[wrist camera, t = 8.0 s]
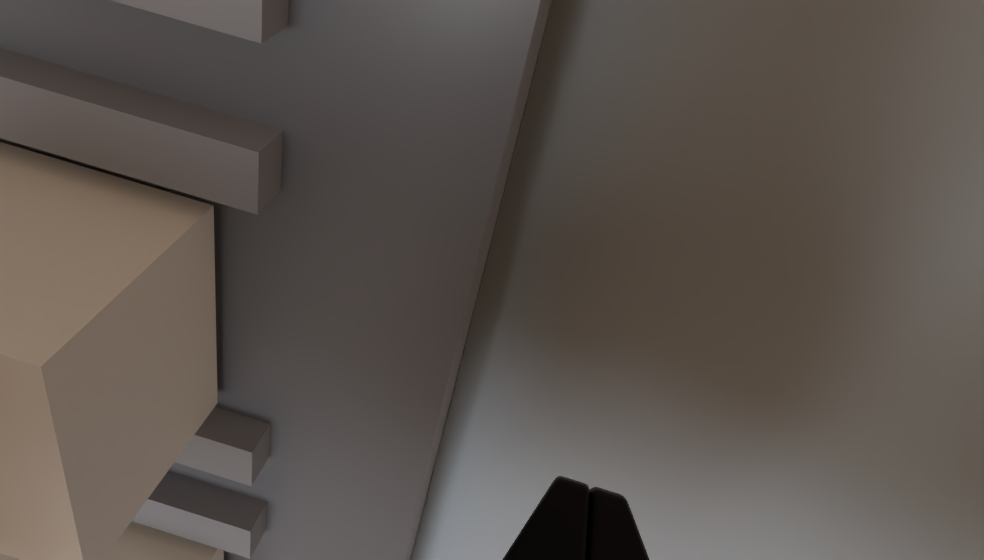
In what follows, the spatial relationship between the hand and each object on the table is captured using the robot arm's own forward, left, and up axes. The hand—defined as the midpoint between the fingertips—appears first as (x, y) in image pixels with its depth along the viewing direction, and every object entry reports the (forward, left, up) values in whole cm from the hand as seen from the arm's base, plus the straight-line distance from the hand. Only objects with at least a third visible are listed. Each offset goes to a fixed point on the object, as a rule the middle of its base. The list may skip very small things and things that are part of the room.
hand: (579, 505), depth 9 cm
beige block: (+7, 0, -1) cm, 7 cm away
